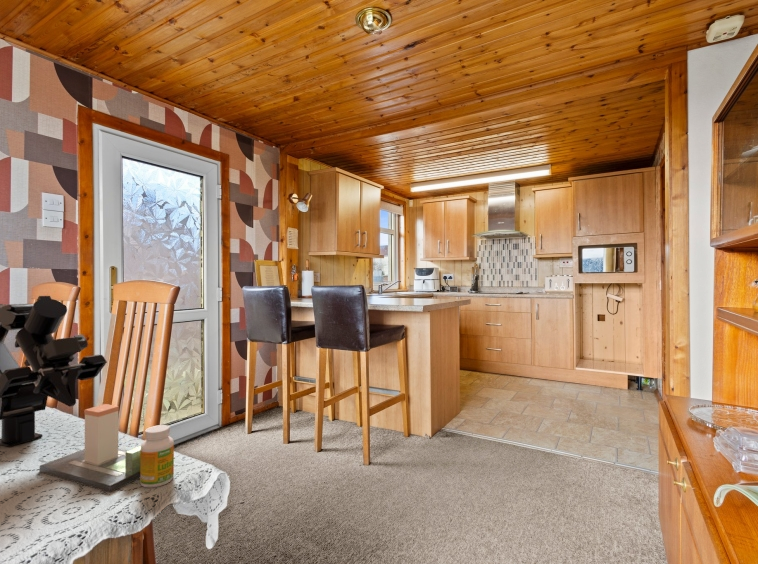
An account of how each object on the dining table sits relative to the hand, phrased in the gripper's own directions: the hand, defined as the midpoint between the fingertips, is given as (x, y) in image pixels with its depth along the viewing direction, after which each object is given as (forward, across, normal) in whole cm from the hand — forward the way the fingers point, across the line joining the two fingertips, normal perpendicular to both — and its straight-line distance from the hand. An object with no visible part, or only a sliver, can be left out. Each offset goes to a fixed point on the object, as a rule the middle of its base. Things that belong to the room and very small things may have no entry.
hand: (73, 404), depth 83 cm
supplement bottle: (+26, 0, -9) cm, 27 cm away
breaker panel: (+15, -1, 0) cm, 15 cm away
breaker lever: (+13, 0, +1) cm, 13 cm away
